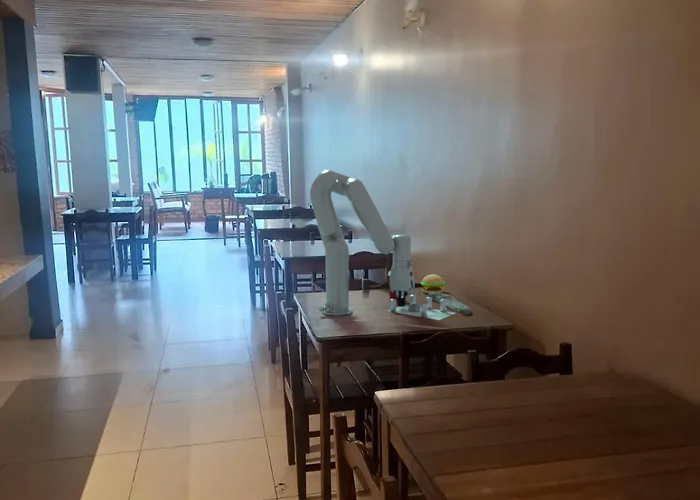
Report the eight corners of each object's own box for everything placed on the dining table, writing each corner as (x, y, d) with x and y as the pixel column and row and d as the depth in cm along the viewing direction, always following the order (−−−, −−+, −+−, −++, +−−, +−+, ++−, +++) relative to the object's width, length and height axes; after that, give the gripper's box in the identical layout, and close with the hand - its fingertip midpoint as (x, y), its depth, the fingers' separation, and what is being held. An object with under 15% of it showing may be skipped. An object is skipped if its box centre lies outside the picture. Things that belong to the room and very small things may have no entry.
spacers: (429, 318, 234) (429, 306, 233) (388, 311, 246) (388, 299, 246) (447, 311, 245) (447, 299, 245) (407, 304, 258) (408, 293, 257)
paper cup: (405, 304, 264) (405, 273, 262) (388, 304, 264) (388, 273, 262) (404, 300, 272) (404, 270, 270) (387, 300, 272) (387, 270, 270)
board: (439, 322, 232) (439, 319, 232) (386, 313, 247) (386, 310, 247) (456, 315, 243) (456, 313, 243) (405, 306, 258) (405, 304, 258)
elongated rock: (454, 319, 242) (476, 319, 245) (456, 307, 241) (477, 307, 244) (422, 297, 275) (442, 297, 278) (423, 286, 274) (443, 286, 277)
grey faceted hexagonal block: (418, 312, 244) (418, 306, 244) (406, 311, 246) (406, 305, 246) (421, 310, 248) (421, 304, 248) (409, 309, 250) (409, 303, 250)
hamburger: (447, 294, 283) (447, 276, 282) (422, 294, 283) (422, 277, 282) (442, 289, 295) (443, 272, 294) (418, 289, 295) (419, 272, 294)
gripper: (421, 264, 247) (421, 307, 249) (392, 261, 256) (391, 302, 258) (411, 266, 241) (411, 310, 243) (382, 263, 250) (382, 305, 253)
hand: (401, 306), depth 251 cm, fingers closed
